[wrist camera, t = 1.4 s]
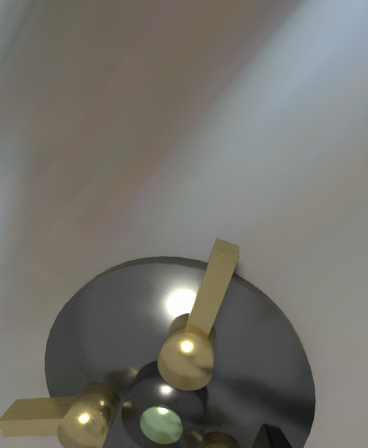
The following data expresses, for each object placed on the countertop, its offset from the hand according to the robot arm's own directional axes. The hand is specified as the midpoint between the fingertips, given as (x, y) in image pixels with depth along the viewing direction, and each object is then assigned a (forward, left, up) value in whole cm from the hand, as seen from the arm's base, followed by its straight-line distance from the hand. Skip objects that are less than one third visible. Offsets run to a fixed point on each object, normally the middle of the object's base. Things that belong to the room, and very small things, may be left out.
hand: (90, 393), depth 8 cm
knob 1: (-11, +11, -12) cm, 20 cm away
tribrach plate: (-11, +3, -14) cm, 18 cm away
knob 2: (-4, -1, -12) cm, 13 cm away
